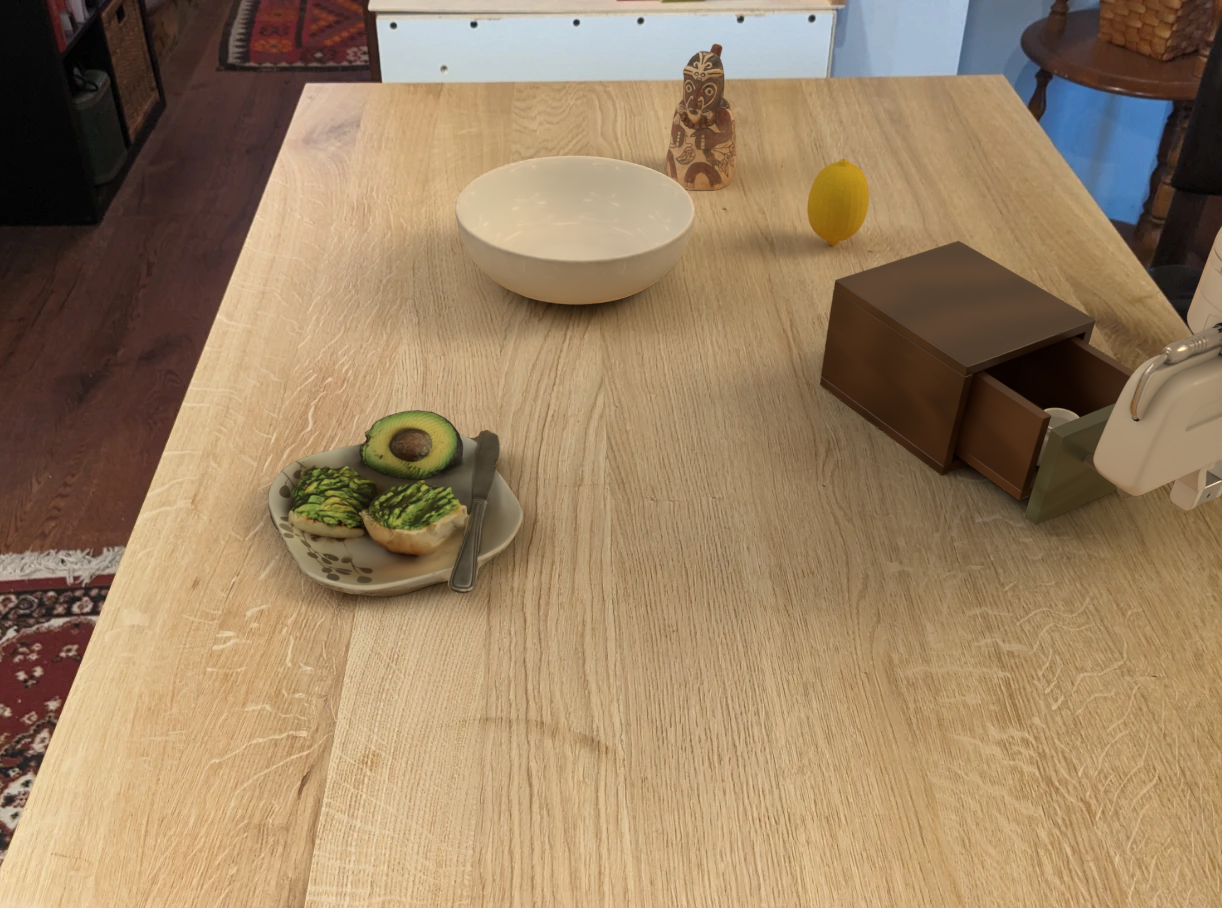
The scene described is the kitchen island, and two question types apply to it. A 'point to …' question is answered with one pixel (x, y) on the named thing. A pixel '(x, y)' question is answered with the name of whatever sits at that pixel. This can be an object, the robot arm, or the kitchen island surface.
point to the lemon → (838, 201)
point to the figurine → (703, 127)
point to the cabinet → (933, 341)
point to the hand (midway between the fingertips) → (1193, 499)
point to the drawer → (1043, 425)
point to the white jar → (1056, 424)
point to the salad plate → (397, 508)
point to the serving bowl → (575, 227)
